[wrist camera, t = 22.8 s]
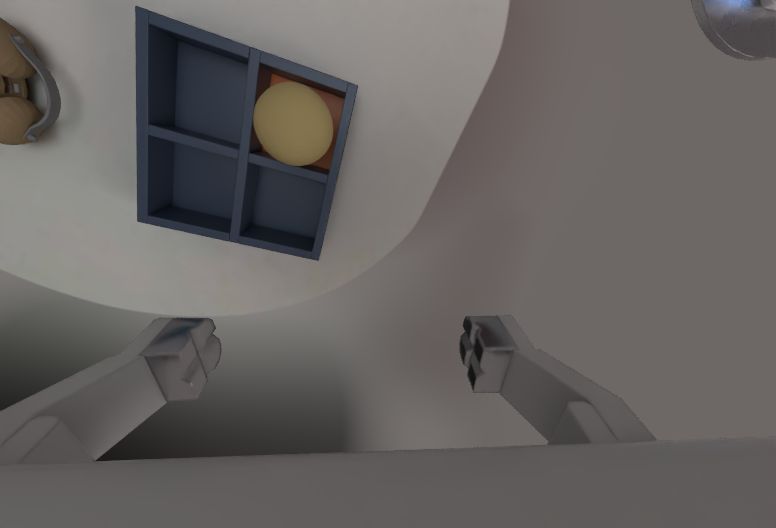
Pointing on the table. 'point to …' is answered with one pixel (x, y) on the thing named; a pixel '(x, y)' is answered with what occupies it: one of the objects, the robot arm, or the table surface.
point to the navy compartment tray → (226, 141)
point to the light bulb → (293, 123)
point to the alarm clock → (22, 90)
